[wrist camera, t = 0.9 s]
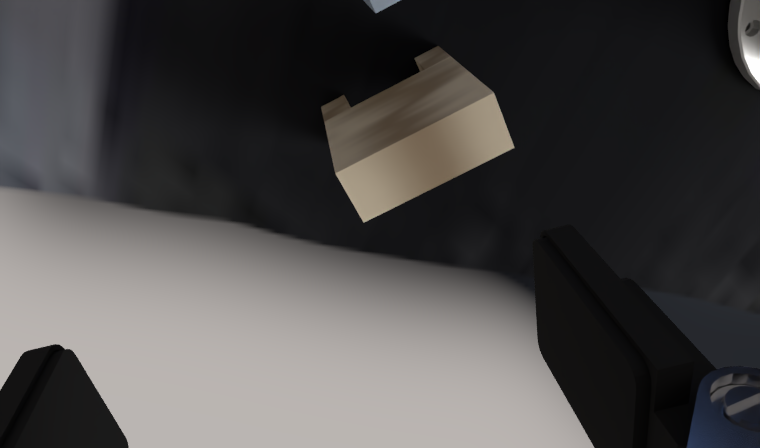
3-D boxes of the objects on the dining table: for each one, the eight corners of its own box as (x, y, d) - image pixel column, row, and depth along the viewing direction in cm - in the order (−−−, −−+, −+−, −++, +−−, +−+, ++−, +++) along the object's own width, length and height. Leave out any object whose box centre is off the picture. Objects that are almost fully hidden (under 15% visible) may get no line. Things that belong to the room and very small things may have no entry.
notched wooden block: (438, 45, 30) (494, 92, 22) (455, 88, 31) (514, 147, 23) (320, 106, 31) (335, 173, 23) (342, 146, 32) (363, 222, 24)
